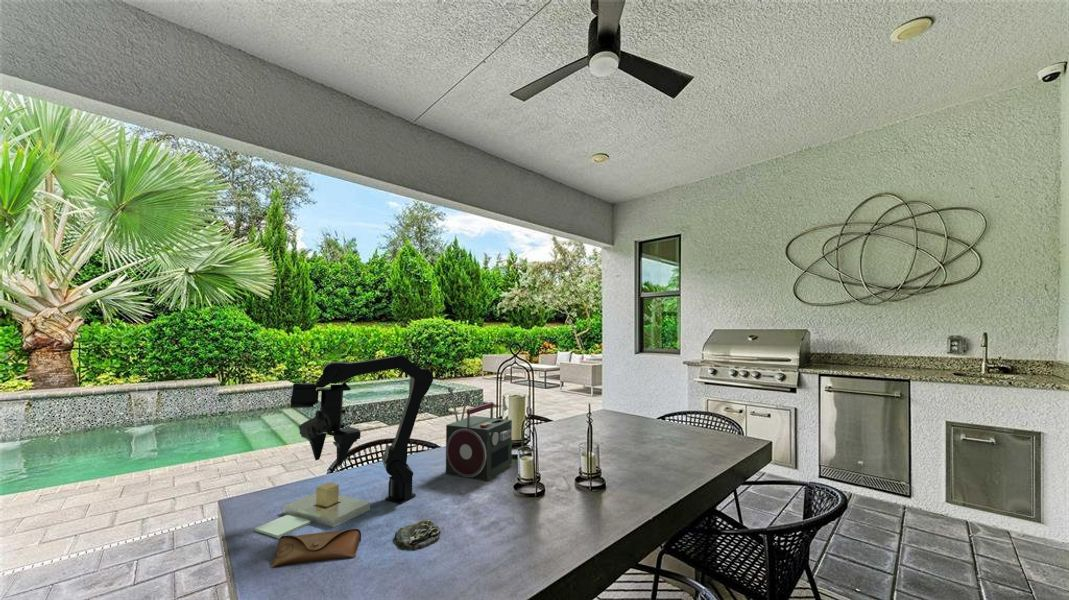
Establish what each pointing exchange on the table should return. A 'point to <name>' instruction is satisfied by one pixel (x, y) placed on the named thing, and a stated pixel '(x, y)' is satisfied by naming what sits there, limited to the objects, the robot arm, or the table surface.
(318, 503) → the brass peg
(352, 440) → the robot arm
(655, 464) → the table surface
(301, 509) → the aluminium plate
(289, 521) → the sage mat
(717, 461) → the table surface
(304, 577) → the table surface
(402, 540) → the mossy grey rock
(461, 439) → the boombox
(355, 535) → the sunglasses case
